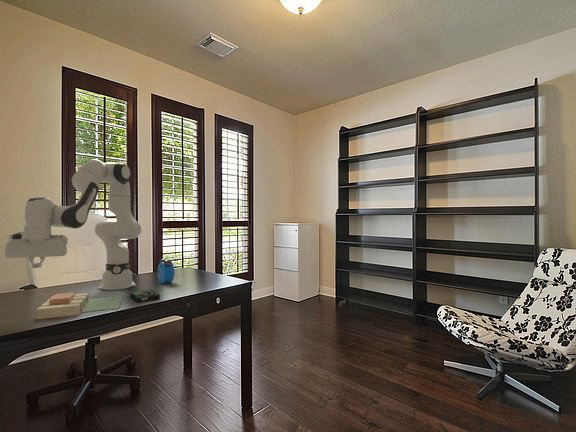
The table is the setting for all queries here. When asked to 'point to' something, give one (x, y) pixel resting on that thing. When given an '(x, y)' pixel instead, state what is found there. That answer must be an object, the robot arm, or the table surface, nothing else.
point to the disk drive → (144, 295)
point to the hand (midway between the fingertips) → (36, 267)
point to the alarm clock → (165, 271)
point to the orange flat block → (62, 298)
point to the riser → (63, 307)
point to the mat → (102, 304)
